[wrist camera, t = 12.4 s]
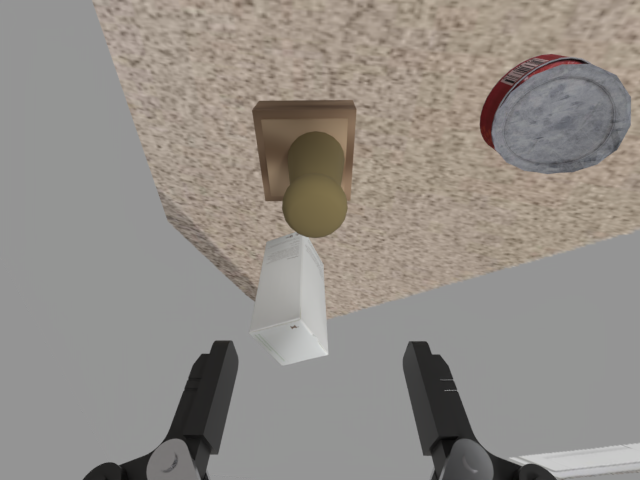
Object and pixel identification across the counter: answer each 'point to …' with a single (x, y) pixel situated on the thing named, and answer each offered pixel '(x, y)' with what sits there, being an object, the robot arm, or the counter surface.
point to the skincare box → (291, 301)
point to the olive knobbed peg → (315, 185)
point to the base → (293, 121)
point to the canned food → (556, 114)
